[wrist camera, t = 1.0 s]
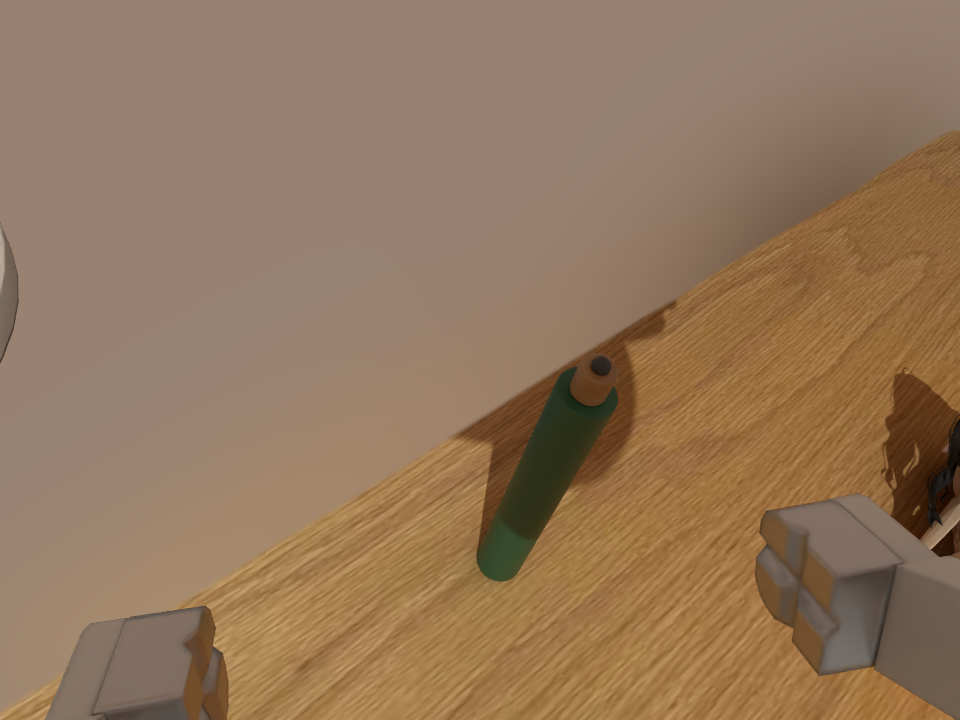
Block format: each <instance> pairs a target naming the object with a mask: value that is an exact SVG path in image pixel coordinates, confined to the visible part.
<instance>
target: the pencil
mask: <svg viewBox="0 0 960 720" xmlns="http://www.w3.org/2000/svg"><path fill="white" fill-rule="evenodd" d="M618 374H619V373H618V368H617V366H616V364H615V363H614V361H613V360H612V359H610V358H609V357H607V356H605V355H603V354H599V353H591V354H588V355H586V356H584V357H583V358H582V360H581V361H580V363H579V366H578V367H572V368H569V369H567V370H565V371H564V372H563V373H562V374H561V375H560V376H559V377H558V379H557V381H556V383H555V386H554V388H553V390H552V392H551V394H550V396H549V398H548V401H547V403H546V405H545V407H544V409H543V411H542V414H541V416H540V418H539V420H538V422H537V424H536V427H535V429H534V431H533V433H532V435H531V437H530V440H529V442H528V444H527V446H526V448H525V450H524V452H523V455H522V457H521V459H520V461H519V463H518V465H517V468H516V470H515V472H514V474H513V476H512V478H511V481H510V483H509V485H508V487H507V489H506V491H505V494H504V496H503V498H502V500H501V502H500V504H499V506H498V509H497V511H496V513H495V515H494V517H493V519H492V522H491V524H490V526H489V528H488V530H487V532H486V535H485V537H484V539H483V541H482V543H481V545H480V547H479V550H478V553H477V563H478V566H479V568H480V570H481V571H482V573H483V574H484V575H485V576H487V577H488V578H490V579H492V580H495V581H507V580H509V579H511V578H513V577H514V576H515V575H516V574H517V573H518V571H519V570H520V568H521V566H522V565H523V563H524V561H525V560H526V558H527V556H528V555H529V553H530V551H531V550H532V548H533V546H534V544H535V543H536V541H537V539H538V538H539V536H540V534H541V533H542V531H543V529H544V528H545V526H546V524H547V523H548V521H549V519H550V518H551V516H552V514H553V513H554V511H555V509H556V508H557V506H558V504H559V503H560V501H561V499H562V498H563V496H564V494H565V493H566V491H567V489H568V488H569V486H570V484H571V483H572V481H573V479H574V477H575V476H576V474H577V472H578V471H579V469H580V467H581V466H582V464H583V462H584V461H585V459H586V457H587V456H588V454H589V452H590V451H591V449H592V447H593V446H594V444H595V442H596V441H597V439H598V437H599V436H600V434H601V432H602V431H603V429H604V427H605V426H606V424H607V422H608V421H609V419H610V417H611V416H612V414H613V412H614V411H615V409H616V407H617V403H618V395H617V391H616V388H615V386H614V384H615V382H616V380H617V379H618Z"/></svg>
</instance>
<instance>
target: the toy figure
mask: <svg viewBox="0 0 960 720" xmlns="http://www.w3.org/2000/svg"><path fill="white" fill-rule="evenodd" d="M959 415H960V414H959ZM959 415H958V416H959ZM958 416H957V417H958ZM957 417H956V418H955V420H954V422H953V424H952V426H953V425H954V423H955V421H956V419H957ZM952 426H951V428H952ZM951 428H950V433H949V443H948V444H947V445H946V446H945V448H944V449H943V450H942V452H945V453H948V461H947V463H946V464H947V465H948V467H947V468H946V469H944V470H943V471H941V472H940V473H938V474H937V475H935V477H934V478H933V479H932V481H931V483H930V486H929V480H930V477H931V475H932V474H933V473H932V474H931V475H930V477H929V479H928V482H927V488H928V497H929V500H928V509H929V511H928V517H927V520H928V522H929V525H930V528H929V529H928V530H927V531H926V533H925V534H924V535H923V537H922V538H921V539H920V541H921V542H922V543H923V544H924V545H926V546H927V547H928V548H929V549H930V550H931V549H932V548H933V547H934V546H935V545H936V544H937V543H938V542H939V541H940V540H941V539H942V538H943V537H944V536H945V535H946V534H947V533H948V532H949V531H950V530H951V529H952V530H953V541H954V552H955V554H953V555H951V557H954V558H957V559H960V419H959V420H958V422H957V424H956V425H955V428H954V430H953V433H952V436H951ZM949 454H950V457H949ZM946 464H945V465H946ZM945 465H944V466H945ZM942 467H943V466H942ZM942 467H941V468H942ZM939 469H940V468H939ZM939 469H938V470H939ZM938 470H937V471H938ZM935 472H936V471H935ZM935 472H934V473H935ZM954 474H955V475H954ZM953 479H954V481H953V489H954V493H955V496H956V497H954V498H953V499H952V500H951V501H950V502H949V503H948V504H947V506H946V507H945V508H944V510H943V511H942V512H941V513H940V515H939V514H938V513H937V510H936V501H937V495H936V493H937V492H939V491H940V490H941V489H943V488H944V487H946V492H945V493H944V495H943V496H942V497H941V504H942V500H943V499H944V498H945V497H946V495H947V494H948V487H947V485H948V484H949V483H951V481H952V480H953Z"/></svg>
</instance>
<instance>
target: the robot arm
mask: <svg viewBox="0 0 960 720" xmlns="http://www.w3.org/2000/svg"><path fill="white" fill-rule="evenodd" d="M759 534H760V535H761V536H762V537H763V539H764V540H765V541H766V542H767V544H766V546H765V547H764V548H763V549H762V551H761V552H760V553H759V554H758V556H757V557H756V569H755V577H756V582H757V586H758V591H759V594H760V596H761V598H762V600H763V602H764V604H765V607H766V608H767V609H768V611H769V612H770V613H771V615H772V616H773V617H774V619H776V620H778V621H780V622H782V623H784V624H786V625H787V626H789V627H791V628H793V635H792V642H793V643H794V645H795V646H796V647H797V649H798V650H799V651H800V652H801V654H802V655H803V656H804V658H805V659H806V660H807V661H808V663H809V664H810V665H811V666H812V668H813V669H814V670H815V672H816V673H817V674H818V675H819V676H823V675H829V674H835V673H840V672H846V671H852V670H857V669H863V668H869V667H874V666H875V668H874V670H876V671H878V672H879V673H881V674H882V675H884V676H886V677H887V678H889V679H891V680H892V681H894V682H895V683H897V684H899V685H900V686H902V687H904V688H905V689H907V690H908V691H910V692H912V693H913V694H915V695H917V696H918V697H920V698H922V699H923V700H925V701H926V702H928V703H930V704H931V705H933V706H935V707H936V708H938V709H939V710H941V711H943V712H944V713H946V714H948V715H949V716H951V717H952V718H954V719H956V720H960V559H957V558H954V557H951V556H944V557H939V556H937V555H936V554H935V553H934V552H933V551H932V550H930V549H929V548H928V547H927V546H926V545H924V544H923V543H922V542H921V541H920V540H918V539H917V538H916V537H915V536H914V535H913V534H911V533H910V532H909V531H908V530H907V529H905V528H904V527H903V526H902V525H901V524H899V523H898V522H897V521H896V520H895V519H894V518H892V517H891V516H890V515H889V514H888V513H886V512H885V511H884V510H883V509H882V508H880V507H879V506H878V505H877V504H876V503H875V502H873V501H872V500H871V499H870V498H869V497H867V496H864V495H861V494H858V493H856V494H851V495H846V496H841V497H836V498H831V499H827V500H826V501H819V502H813V503H807V504H802V505H796V506H790V507H785V508H779V509H773V510H768V511H766V512H765V514H764V515H763V517H762V519H761V524H760V532H759ZM215 630H216V627H215V624H214V620H213V617H212V614H211V611H210V609H209V608H207V607H206V606H201V607H194V608H188V609H181V610H174V611H167V612H161V613H154V614H147V615H140V616H133V617H130V618H124V619H117V620H111V621H105V622H97V623H91V624H90V625H89V626H87V627H86V628H85V629H84V630H83V631H82V633H81V635H80V638H79V640H78V642H77V645H76V647H75V649H74V652H73V654H72V657H71V659H70V661H69V664H68V666H67V668H66V671H65V673H64V676H63V678H62V680H61V683H60V685H59V687H58V690H57V692H56V695H55V697H54V699H53V702H52V704H51V706H50V709H49V711H48V714H47V716H46V718H45V720H227V713H228V678H227V670H226V665H225V661H224V657H223V653H222V652H220V651H219V650H217V649H216V648H215V647H213V641H214V636H215Z"/></svg>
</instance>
